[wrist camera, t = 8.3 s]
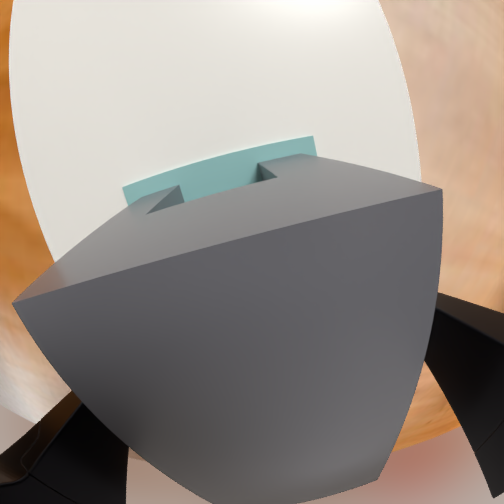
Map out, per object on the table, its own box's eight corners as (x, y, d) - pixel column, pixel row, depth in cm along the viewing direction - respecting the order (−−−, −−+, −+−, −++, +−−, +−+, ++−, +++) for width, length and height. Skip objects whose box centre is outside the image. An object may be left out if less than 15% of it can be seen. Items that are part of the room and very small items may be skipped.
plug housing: (300, 153, 8) (443, 189, 2) (332, 365, 11) (377, 479, 6) (140, 197, 8) (12, 303, 2) (224, 391, 11) (228, 512, 6)
